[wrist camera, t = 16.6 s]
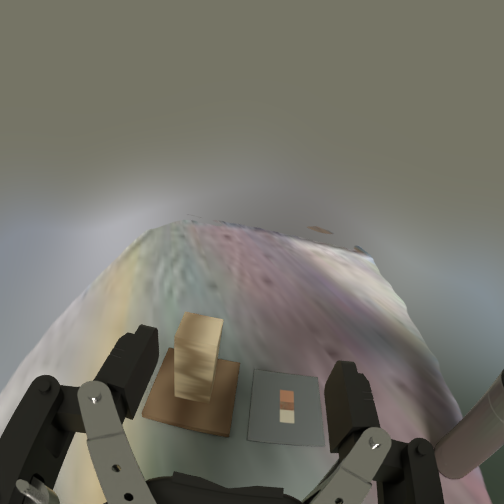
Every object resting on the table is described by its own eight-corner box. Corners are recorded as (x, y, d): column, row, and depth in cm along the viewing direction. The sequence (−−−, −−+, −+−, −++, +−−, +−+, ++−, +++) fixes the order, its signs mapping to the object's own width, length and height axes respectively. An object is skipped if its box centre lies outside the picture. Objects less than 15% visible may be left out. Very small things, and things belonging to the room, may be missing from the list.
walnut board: (239, 366, 46) (240, 362, 45) (228, 437, 33) (229, 434, 33) (169, 351, 46) (169, 347, 45) (142, 416, 33) (141, 413, 32)
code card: (317, 377, 46) (317, 377, 46) (324, 446, 33) (324, 445, 33) (254, 369, 46) (254, 368, 46) (247, 440, 33) (247, 439, 33)
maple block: (214, 378, 41) (223, 319, 36) (209, 403, 37) (217, 345, 32) (182, 371, 41) (185, 311, 36) (174, 396, 36) (174, 336, 32)
